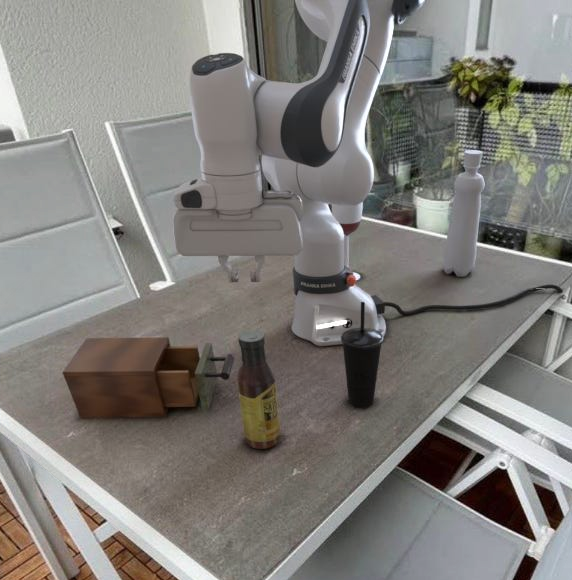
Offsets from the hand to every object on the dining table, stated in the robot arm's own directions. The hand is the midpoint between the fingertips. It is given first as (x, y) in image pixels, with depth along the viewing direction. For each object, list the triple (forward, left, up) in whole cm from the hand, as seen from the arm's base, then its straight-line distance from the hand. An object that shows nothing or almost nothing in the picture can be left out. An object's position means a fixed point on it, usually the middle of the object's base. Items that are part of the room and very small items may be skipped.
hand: (244, 281), depth 92 cm
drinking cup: (-20, +2, -23) cm, 31 cm away
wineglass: (-19, -62, -23) cm, 69 cm away
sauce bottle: (-2, +14, -23) cm, 27 cm away
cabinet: (+25, 0, -23) cm, 34 cm away
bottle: (-51, -65, -23) cm, 86 cm away
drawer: (+14, 0, -22) cm, 26 cm away
